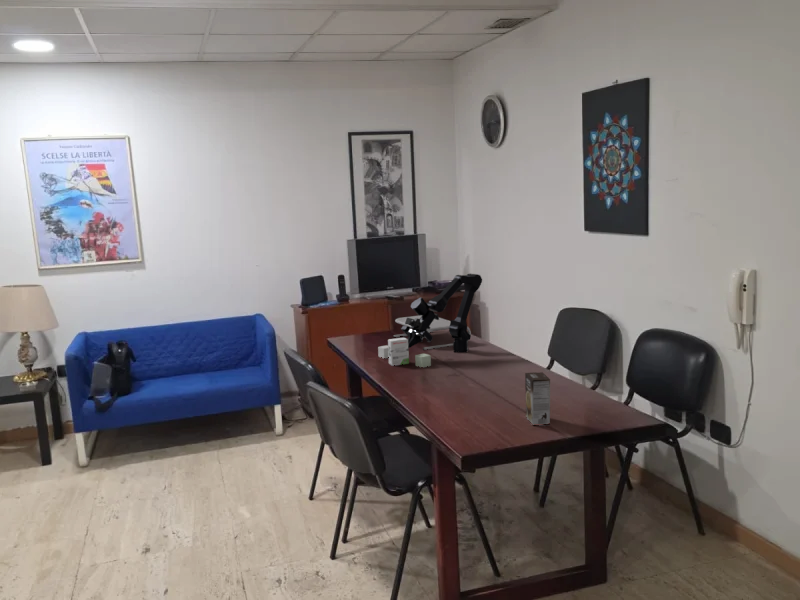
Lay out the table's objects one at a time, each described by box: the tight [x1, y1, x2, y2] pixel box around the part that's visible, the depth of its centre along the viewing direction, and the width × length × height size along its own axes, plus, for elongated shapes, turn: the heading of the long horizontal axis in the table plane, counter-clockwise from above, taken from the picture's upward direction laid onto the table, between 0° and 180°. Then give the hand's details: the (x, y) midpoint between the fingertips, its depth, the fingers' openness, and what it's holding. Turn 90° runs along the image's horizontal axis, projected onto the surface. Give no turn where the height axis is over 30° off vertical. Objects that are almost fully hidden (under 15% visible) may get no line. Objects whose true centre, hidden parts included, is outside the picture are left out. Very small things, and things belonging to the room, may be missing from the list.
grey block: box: [377, 344, 389, 359], centre depth 338 cm, size 5×5×5 cm
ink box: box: [387, 337, 410, 367], centre depth 323 cm, size 9×5×12 cm, turn 109°
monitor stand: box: [392, 315, 472, 351], centre depth 371 cm, size 37×28×11 cm
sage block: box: [414, 353, 432, 368], centre depth 319 cm, size 5×5×5 cm
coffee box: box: [524, 371, 551, 425], centre depth 238 cm, size 9×6×16 cm
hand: (406, 347), depth 325 cm, fingers closed
